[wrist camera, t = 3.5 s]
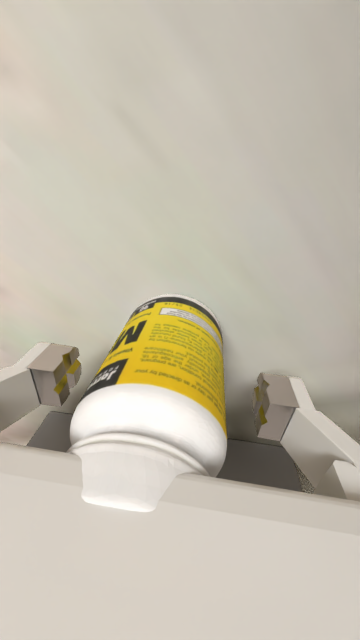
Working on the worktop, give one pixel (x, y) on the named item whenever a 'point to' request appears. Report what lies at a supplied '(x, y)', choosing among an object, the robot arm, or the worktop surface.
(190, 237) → the worktop surface
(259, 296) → the worktop surface
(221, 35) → the worktop surface
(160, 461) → the supplement bottle
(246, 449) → the housing
